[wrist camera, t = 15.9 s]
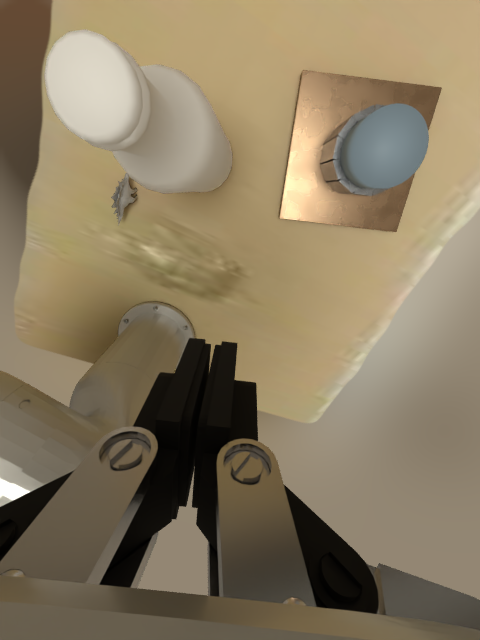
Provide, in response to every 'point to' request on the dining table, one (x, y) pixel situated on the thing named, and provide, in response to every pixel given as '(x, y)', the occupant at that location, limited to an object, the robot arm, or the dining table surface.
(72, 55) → the bottle
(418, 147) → the cap
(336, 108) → the copper square plate
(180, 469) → the robot arm
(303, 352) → the dining table surface
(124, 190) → the stegosaurus
